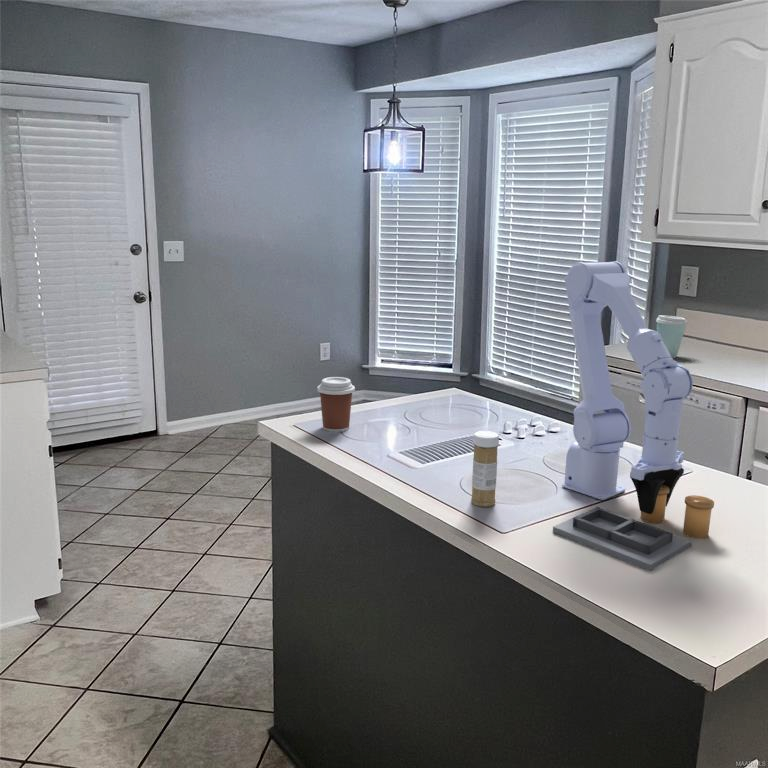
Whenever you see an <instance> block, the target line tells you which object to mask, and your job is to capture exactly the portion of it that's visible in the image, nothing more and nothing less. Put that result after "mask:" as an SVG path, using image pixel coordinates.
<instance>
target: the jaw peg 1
mask: <svg viewBox="0 0 768 768" xmlns="http://www.w3.org/2000/svg"><path fill="white" fill-rule="evenodd" d="M668 493H669V487H668V486H666V485H664V484H662V486H661V488H660V490H659V492H658V495H657V498H656V503H655V507H654V510H653V513H652V514H648V513H645V512H642V511H640V519H641V520H642V521H644V522H646V523H649V524H650V523H651V524H662V523H664V522H665V515H666V507H667V506H666V499H667V494H668Z"/></svg>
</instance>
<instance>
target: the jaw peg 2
mask: <svg viewBox="0 0 768 768" xmlns="http://www.w3.org/2000/svg"><path fill="white" fill-rule="evenodd" d="M684 503H685V511H684V518H683V519H684V520H683V527H682V533H683V534H684V535H685V536H687V537H688V538H693V539H707V538H708V537H709V533H710V525H711V517H712V516H711V515H712V510H713V508H714V507H715V501H714V500H713V499H711V498H709V497H706V496H702V495H687V496H685V497H684Z"/></svg>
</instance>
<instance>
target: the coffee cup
mask: <svg viewBox="0 0 768 768" xmlns="http://www.w3.org/2000/svg"><path fill="white" fill-rule="evenodd" d="M316 390H317V392H318V393H319V395H320V396H319V397H320V408H321V409H320V410H321V418H322V419H321V420H322V429H323V430H324V431H325V432H330V433H331V432H332V433H340V432H345V431H346V432H347V431H348V430H349V429H350V424H351V423H350V421H351V420H350V419H351V410H352V399H353V398H352V397H353V393H354V392H355V391H356V387H355V385H353V384H352V381H351V379H350V378H348V377H343V376H329V377H325V378H323V379H321V382H320V384H319V385H318V386H317V387H316Z"/></svg>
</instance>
